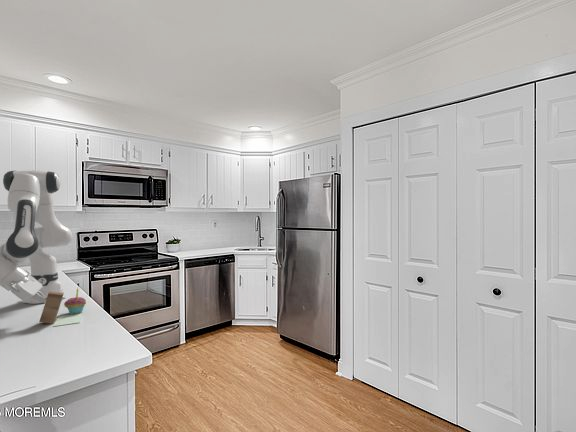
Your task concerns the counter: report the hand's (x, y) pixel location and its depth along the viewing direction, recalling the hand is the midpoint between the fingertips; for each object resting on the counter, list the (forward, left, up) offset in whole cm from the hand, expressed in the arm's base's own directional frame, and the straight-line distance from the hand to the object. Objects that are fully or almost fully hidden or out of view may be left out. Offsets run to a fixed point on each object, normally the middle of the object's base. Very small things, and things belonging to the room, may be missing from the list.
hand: (45, 300), depth 137 cm
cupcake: (-11, +10, -10) cm, 17 cm away
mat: (0, +8, -9) cm, 12 cm away
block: (0, +1, -9) cm, 9 cm away
